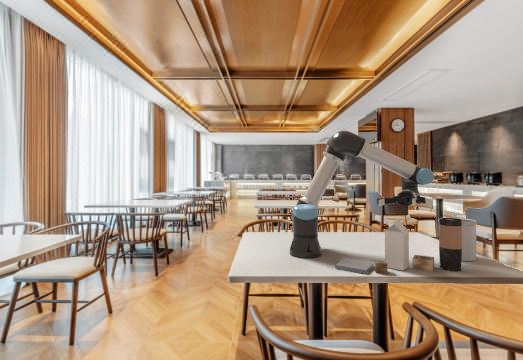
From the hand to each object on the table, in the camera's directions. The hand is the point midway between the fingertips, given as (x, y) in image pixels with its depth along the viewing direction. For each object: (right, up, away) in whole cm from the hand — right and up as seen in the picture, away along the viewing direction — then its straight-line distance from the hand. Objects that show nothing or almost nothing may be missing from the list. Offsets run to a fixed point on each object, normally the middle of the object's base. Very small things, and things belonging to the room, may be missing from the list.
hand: (395, 202), depth 124 cm
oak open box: (+7, -26, -8) cm, 28 cm away
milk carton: (-3, -26, -7) cm, 27 cm away
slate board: (-20, -26, -8) cm, 34 cm away
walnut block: (-12, -26, -13) cm, 31 cm away
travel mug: (+17, -26, -9) cm, 33 cm away
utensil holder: (+32, -26, +8) cm, 42 cm away
